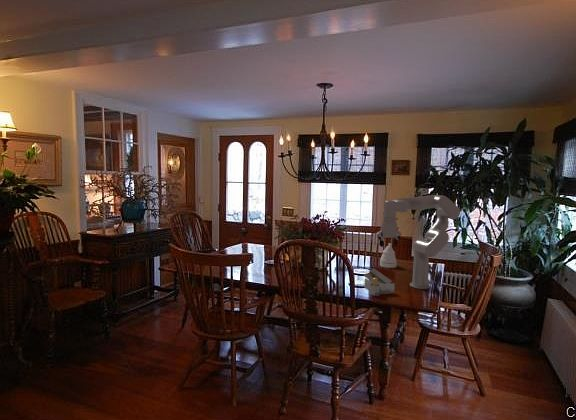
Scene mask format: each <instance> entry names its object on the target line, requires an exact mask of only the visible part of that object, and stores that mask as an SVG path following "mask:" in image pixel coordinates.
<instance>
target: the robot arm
mask: <svg viewBox="0 0 576 420" xmlns="http://www.w3.org/2000/svg"><path fill="white" fill-rule="evenodd" d="M383 208H384V210H383V221H382V222H381V225H380V231H378V232H376V233H375V236H376V238H377V239H378V240H379V247H381V248H383V247H384V239H385V238H387V239H389V238H393V245H392V246H393V247H398V241H399V239H400V238H401V236H402V232H400V231H398V222H397V220H398V217H397V212H398V213H406V212H408V211H409V210H415V211H419V210H420V211H421V210H422V211H423V210H427V209H429V210H430V209H436V221H435V222H434V223H433V225H432V226H431V227H429V229H428V230H427V231H426V233H425V235H424V239H417V240H415V241H414V242H413V244H412V251H413V267H412V268H413V269H412V278H411V279H412V281H411V282H409V286H410V287H412V288H414V289H419V290H428V289H430V284H432V285H433V284H435V281H434V280H430V279H429V268H430V267H429V266H430V265H429V263H430V259H429V258H434V257H436V256H437V255H438V254H439V253H441V251H442V250H443V249H444V248H445V247H446V245H447V244H448V242H449V240H450V236H449V234H448V232H447V230H448V228H449V226H450V225H449V219H451V220H455V219H458V218H459V217H460V215H461V210H460V208H459V207H458V206H457V204H456V203H454V202H453V200H451V199H450V198H449V197H447V196H446V195H440V194H432V195H431V194H430V195H424V196H422V195H421V196H415V197H414V196H413V197H404V198H403V197H402V198H397V199H396V198H395V199H393V200H392V199H391V200H388V199H387V200H385V201H384V206H383Z"/></svg>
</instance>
